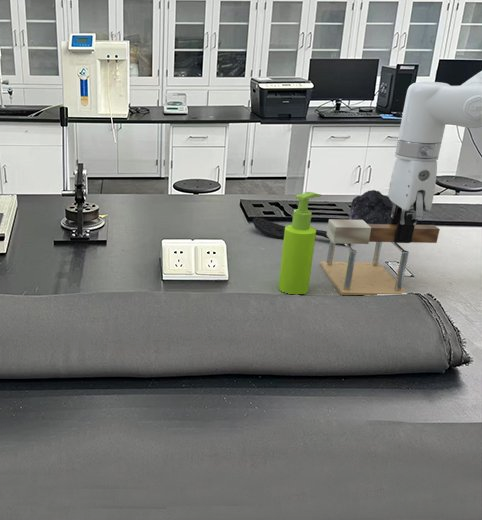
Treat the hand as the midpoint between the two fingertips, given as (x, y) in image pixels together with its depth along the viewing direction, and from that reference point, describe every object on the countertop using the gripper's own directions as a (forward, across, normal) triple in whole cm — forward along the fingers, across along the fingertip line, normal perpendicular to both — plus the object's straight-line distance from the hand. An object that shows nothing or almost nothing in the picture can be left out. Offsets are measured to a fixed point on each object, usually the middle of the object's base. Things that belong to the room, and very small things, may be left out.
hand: (399, 238), depth 109 cm
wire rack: (+9, 0, +6) cm, 11 cm away
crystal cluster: (+10, +36, -9) cm, 38 cm away
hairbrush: (+10, +26, +13) cm, 31 cm away
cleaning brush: (0, 0, +3) cm, 3 cm away
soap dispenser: (+10, -5, +21) cm, 24 cm away
